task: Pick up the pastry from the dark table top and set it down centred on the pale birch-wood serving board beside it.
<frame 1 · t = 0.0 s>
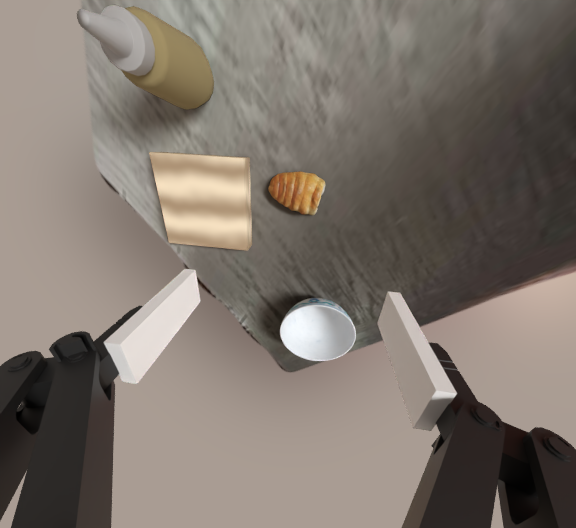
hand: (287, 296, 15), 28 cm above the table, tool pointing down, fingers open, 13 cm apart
chinaware: (317, 309, 51), on the table
serving board: (209, 201, 42), on the table
pastry: (300, 192, 39), on the table
squeeze bottle: (196, 81, 33), on the table
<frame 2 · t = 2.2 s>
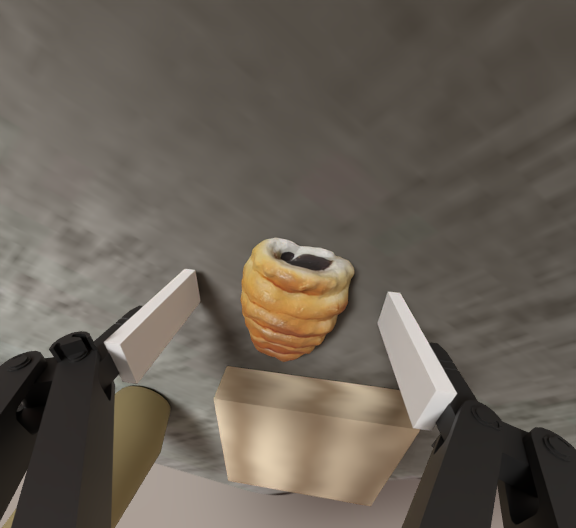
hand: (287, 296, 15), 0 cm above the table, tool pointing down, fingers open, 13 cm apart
serving board: (305, 425, 23), on the table
pastry: (295, 288, 16), on the table
squeeze bottle: (147, 398, 25), on the table
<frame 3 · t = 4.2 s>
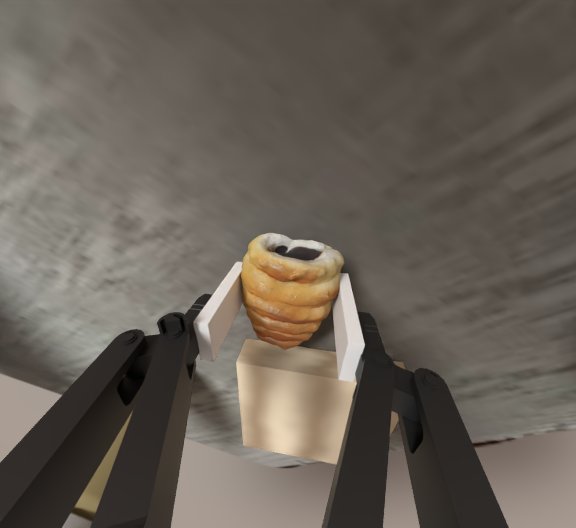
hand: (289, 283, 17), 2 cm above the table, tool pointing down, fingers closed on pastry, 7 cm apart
serving board: (313, 396, 26), on the table
pastry: (292, 280, 17), point 2 cm above the table, touching gripper
squeeze bottle: (173, 370, 28), on the table
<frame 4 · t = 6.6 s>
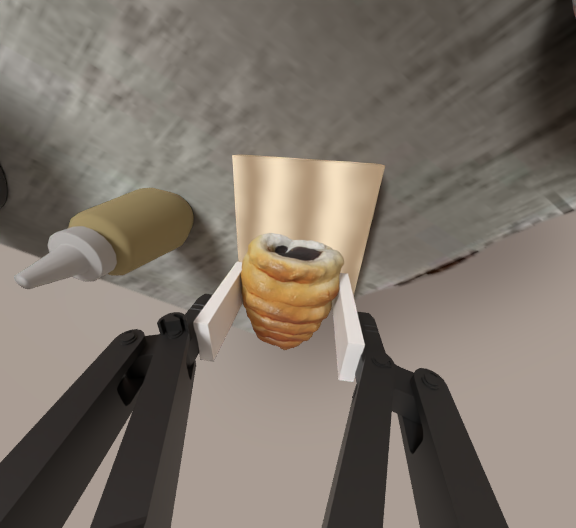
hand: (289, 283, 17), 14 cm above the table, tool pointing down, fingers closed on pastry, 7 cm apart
serving board: (301, 225, 29), on the table
pastry: (292, 280, 17), point 14 cm above the table, touching gripper
squeeze bottle: (175, 213, 31), on the table
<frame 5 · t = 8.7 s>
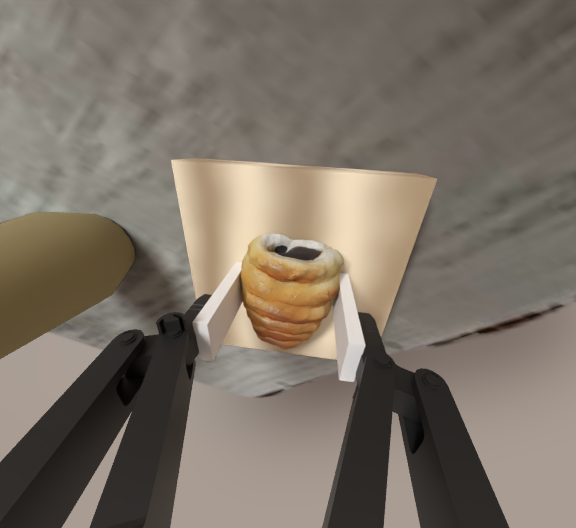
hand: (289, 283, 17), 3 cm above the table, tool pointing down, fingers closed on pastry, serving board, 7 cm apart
serving board: (293, 263, 20), on the table
pastry: (291, 280, 17), point 3 cm above the table, touching gripper
squeeze bottle: (108, 242, 21), on the table
when the fingers open (3 cm above the table, at t = 9.3 s): pastry stays where it is, resting on serving board.
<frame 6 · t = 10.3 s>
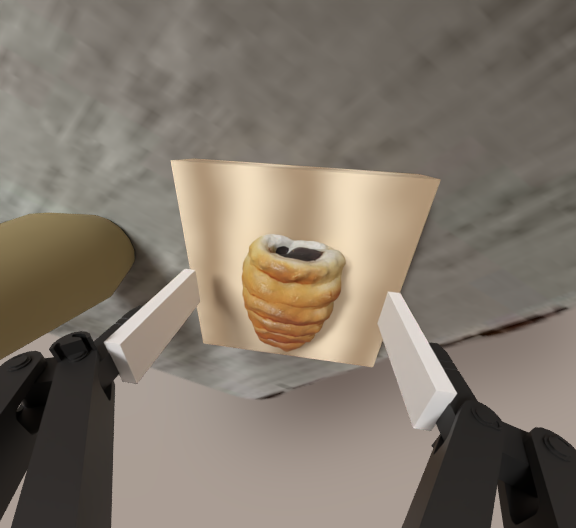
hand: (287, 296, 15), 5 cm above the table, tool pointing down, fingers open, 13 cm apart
serving board: (294, 264, 19), on the table
pastry: (293, 281, 17), point 3 cm above the table, touching serving board
squeeze bottle: (108, 243, 21), on the table
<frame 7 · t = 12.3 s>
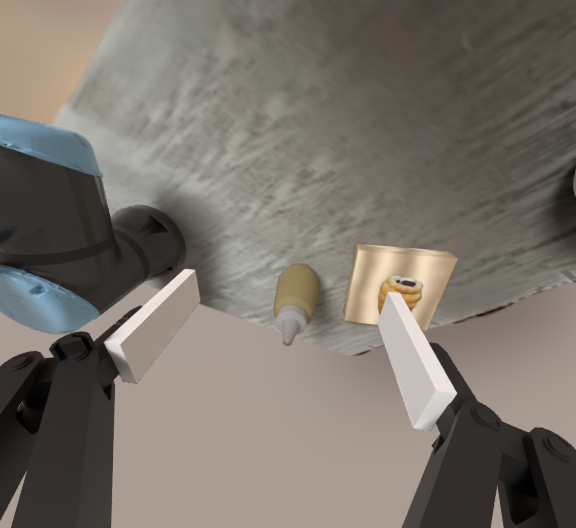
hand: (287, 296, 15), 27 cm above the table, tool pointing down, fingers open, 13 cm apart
serving board: (390, 284, 43), on the table
pastry: (396, 292, 41), point 3 cm above the table, touching serving board
squeeze bottle: (300, 275, 46), on the table
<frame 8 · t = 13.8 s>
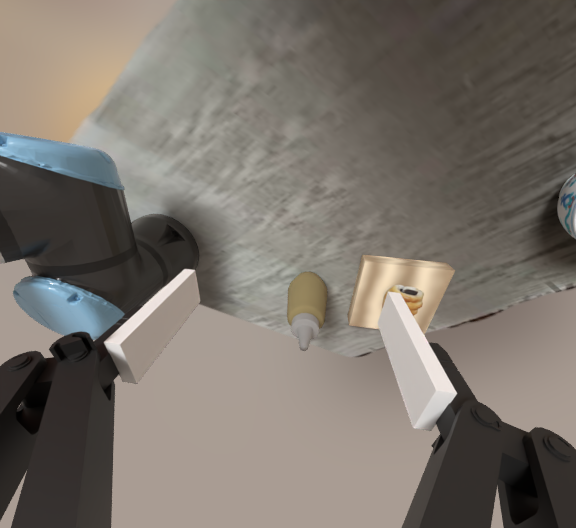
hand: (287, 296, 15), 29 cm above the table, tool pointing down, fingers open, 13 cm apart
serving board: (392, 292, 47), on the table
pastry: (398, 299, 44), point 3 cm above the table, touching serving board
squeeze bottle: (308, 282, 48), on the table
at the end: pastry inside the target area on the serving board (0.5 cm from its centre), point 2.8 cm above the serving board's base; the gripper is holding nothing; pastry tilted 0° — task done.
